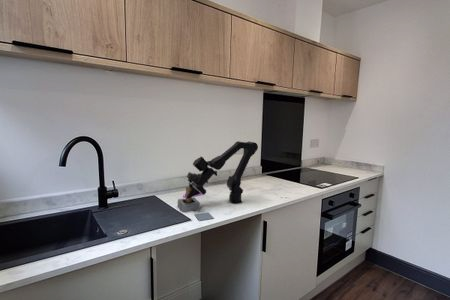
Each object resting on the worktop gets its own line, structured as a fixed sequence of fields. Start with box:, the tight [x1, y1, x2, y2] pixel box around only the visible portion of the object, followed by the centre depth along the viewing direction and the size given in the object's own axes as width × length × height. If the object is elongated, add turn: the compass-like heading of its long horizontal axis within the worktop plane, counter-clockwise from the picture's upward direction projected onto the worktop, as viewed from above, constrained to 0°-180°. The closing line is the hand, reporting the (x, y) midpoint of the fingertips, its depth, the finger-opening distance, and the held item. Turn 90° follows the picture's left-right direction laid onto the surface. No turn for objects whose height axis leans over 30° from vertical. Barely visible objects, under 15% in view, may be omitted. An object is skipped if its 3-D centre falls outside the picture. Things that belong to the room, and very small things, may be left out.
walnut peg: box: [185, 186, 193, 203], centre depth 138 cm, size 5×5×12 cm
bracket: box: [182, 192, 204, 199], centre depth 159 cm, size 13×6×7 cm, turn 129°
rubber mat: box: [194, 212, 215, 222], centre depth 127 cm, size 8×8×1 cm
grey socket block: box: [177, 197, 201, 213], centre depth 138 cm, size 10×10×4 cm
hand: (186, 197), depth 137 cm, fingers open, 3 cm apart
